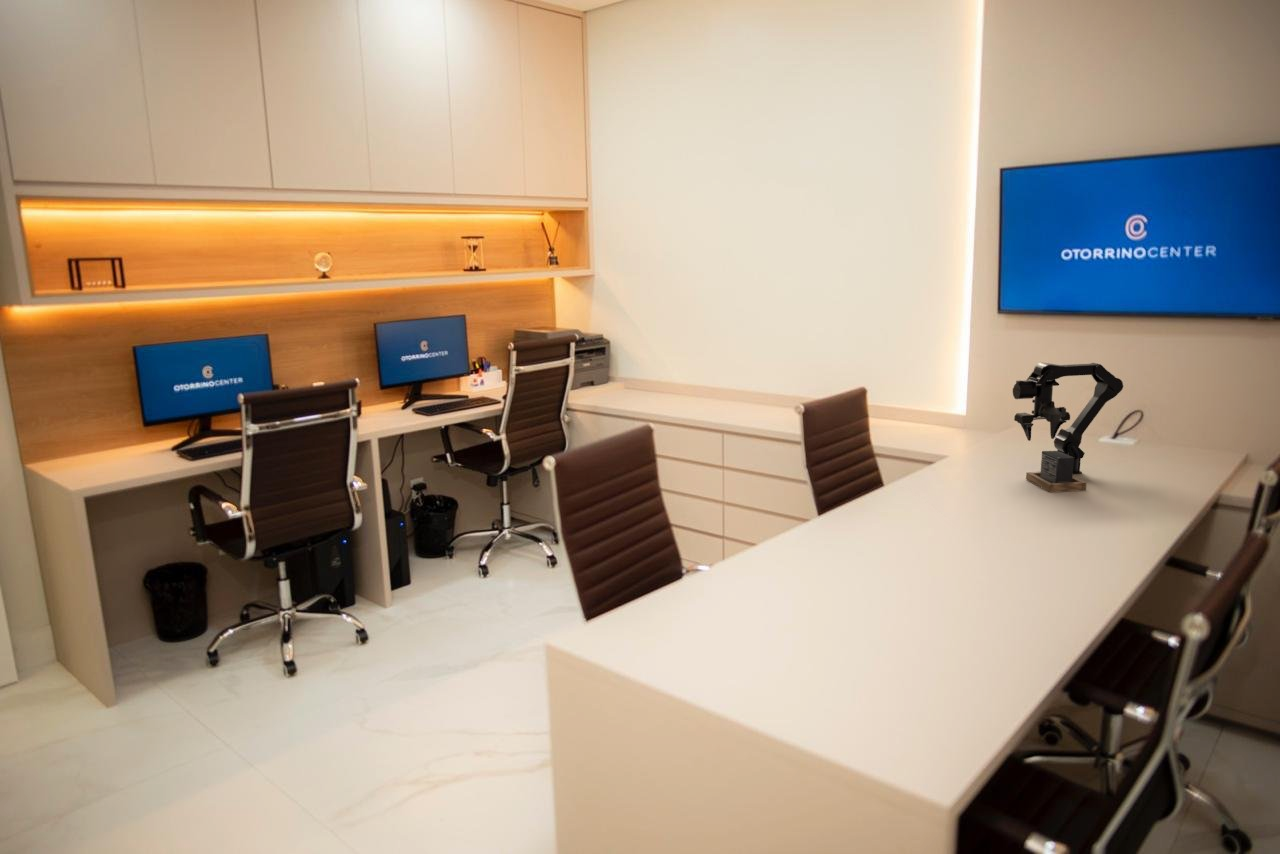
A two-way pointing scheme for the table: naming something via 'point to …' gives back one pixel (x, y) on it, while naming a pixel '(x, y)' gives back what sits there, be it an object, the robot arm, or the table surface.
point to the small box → (1056, 467)
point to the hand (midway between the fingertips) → (1040, 439)
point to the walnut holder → (1056, 487)
